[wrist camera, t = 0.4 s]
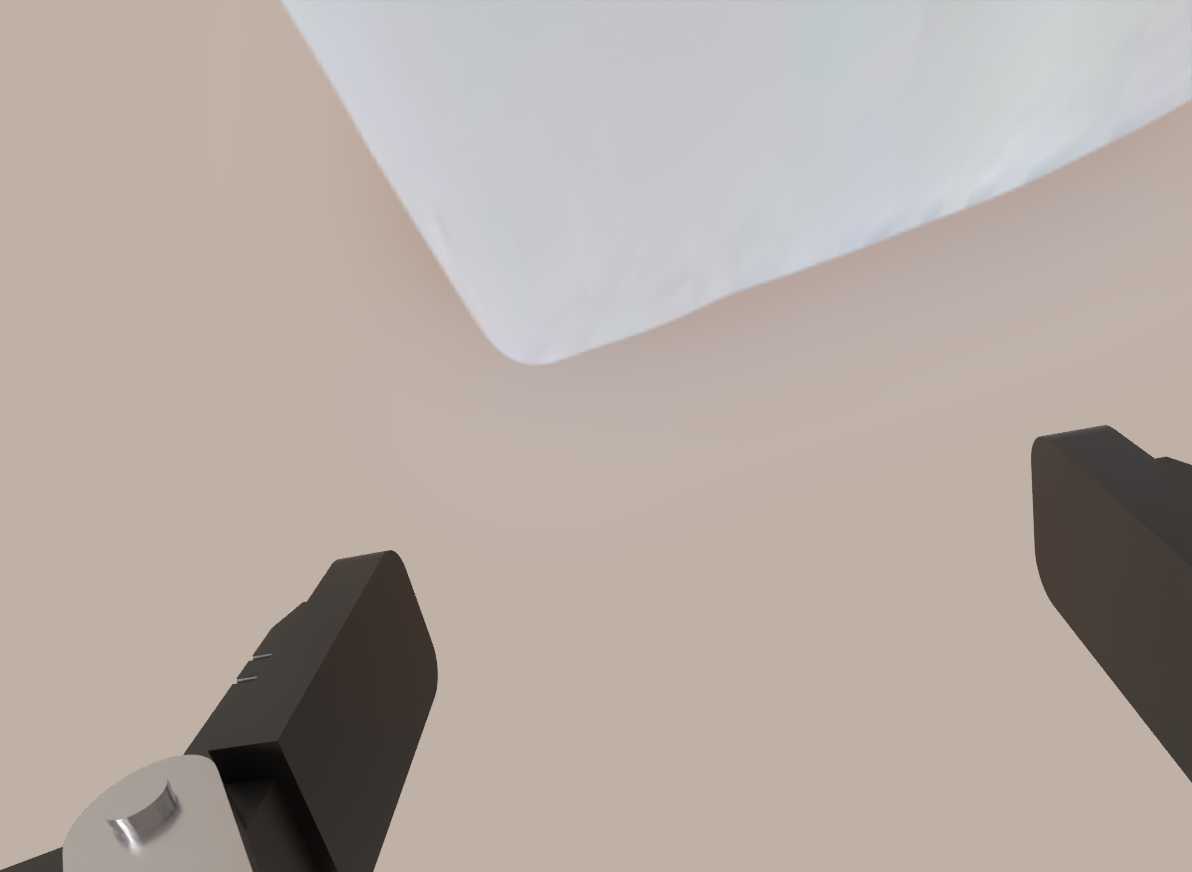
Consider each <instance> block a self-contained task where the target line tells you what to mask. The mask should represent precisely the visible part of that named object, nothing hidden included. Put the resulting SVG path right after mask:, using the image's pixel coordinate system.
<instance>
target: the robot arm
mask: <svg viewBox="0 0 1192 872" xmlns="http://www.w3.org/2000/svg"><path fill="white" fill-rule="evenodd" d="M1031 468H1032V493H1033V515H1034V540H1035V556H1036V563H1037V567H1038V571H1039V575H1040V578H1041V581H1042V584H1043V586H1044V589H1045V591H1046V593H1047V596H1048V597H1049V599H1050V601H1051V602H1052V604H1053V605H1054V607H1055V608H1056V609H1057V611H1058V612H1059V613H1060V614H1061V616H1062V617H1063V618H1064V619H1065V620H1066V622H1067V623H1068V624H1069V626H1070V627H1071V628H1072V630H1073V631H1074V632H1075V633H1076V635H1077V636H1078V637H1079V639H1080V640H1081V641H1082V642H1083V644H1084V645H1085V646H1086V648H1087V649H1088V650H1089V651H1090V653H1091V654H1092V655H1093V657H1094V658H1095V659H1096V660H1097V662H1098V663H1099V664H1100V666H1101V667H1102V668H1103V669H1104V671H1105V672H1106V673H1107V675H1108V676H1109V677H1110V678H1111V680H1112V681H1113V682H1114V684H1115V685H1116V686H1117V687H1118V689H1119V690H1120V691H1121V692H1122V694H1123V695H1124V696H1125V698H1126V699H1127V700H1128V701H1129V703H1130V704H1131V705H1132V707H1133V708H1134V709H1135V710H1136V712H1137V713H1138V714H1139V716H1140V717H1141V718H1142V719H1143V721H1144V722H1145V723H1146V724H1147V726H1148V727H1149V728H1150V730H1151V731H1152V732H1153V733H1154V735H1155V736H1156V737H1157V739H1158V740H1159V741H1160V742H1161V744H1162V745H1163V746H1164V748H1165V749H1166V750H1167V751H1168V753H1169V754H1170V755H1171V757H1172V758H1173V759H1174V760H1175V762H1176V763H1177V764H1178V766H1179V767H1180V768H1181V769H1182V771H1183V772H1184V773H1185V774H1186V776H1187V777H1188V778H1189V780H1190V781H1191V782H1192V465H1190V464H1187V463H1184V462H1181V461H1178V460H1175V459H1172V458H1169V457H1162V458H1156V459H1154V458H1153V457H1152V456H1150V455H1149V454H1148V453H1146V452H1145V451H1143V450H1142V449H1141V448H1139V447H1138V446H1137V445H1135V444H1134V443H1133V442H1131V441H1130V440H1128V439H1127V438H1126V437H1124V436H1123V435H1122V434H1120V433H1119V432H1118V431H1116V430H1115V429H1113V428H1111V427H1110V426H1107V425H1105V426H1097V427H1092V428H1086V429H1080V430H1075V431H1069V432H1063V433H1058V434H1052V435H1046V436H1041V437H1038V438H1036V440H1035V441H1034V444H1033V446H1032V452H1031ZM437 680H438V671H437V660H436V654H435V651H434V647H433V644H432V641H431V638H430V635H429V632H428V630H427V627H426V624H425V622H424V618H423V616H422V613H421V610H420V607H419V605H418V602H417V599H416V596H415V593H414V591H413V588H412V585H411V582H410V579H409V577H408V574H407V571H406V568H405V566H404V563H403V562H402V560H401V558H400V557H399V555H398V554H397V553H396V552H394V551H391V550H390V551H383V552H378V553H372V554H367V555H360V556H355V557H350V558H344V559H338V560H336V561H335V562H334V563H333V564H332V565H331V567H330V568H329V569H328V571H327V573H326V574H325V576H324V577H323V578H322V580H321V581H320V583H319V585H318V586H317V588H316V589H315V590H314V592H313V594H312V595H311V596H310V598H309V599H308V601H307V602H303V603H301V604H300V605H299V606H298V607H297V608H296V609H294V610H293V611H292V612H291V613H289V614H288V615H287V616H286V617H285V618H284V619H282V620H281V621H280V622H279V623H277V624H276V625H275V626H274V627H273V628H272V629H271V630H270V632H269V633H268V634H267V636H266V637H265V639H264V640H263V641H262V643H261V644H260V646H259V647H258V649H257V650H256V651H255V653H254V654H253V660H252V661H249V662H248V663H247V664H246V666H245V667H244V669H243V670H242V672H241V673H240V674H239V676H238V677H237V684H232V686H231V688H230V689H229V690H228V692H227V693H226V694H225V696H224V697H223V699H222V700H221V702H220V703H219V704H218V706H217V707H216V709H215V710H214V712H213V713H212V714H211V716H210V717H209V719H208V720H207V722H206V723H205V724H204V726H203V728H202V729H201V730H200V732H199V733H198V735H197V736H196V737H195V739H194V740H193V742H192V743H191V745H190V746H189V747H188V749H187V750H186V752H185V753H184V755H181V756H175V757H171V758H167V759H164V760H161V761H158V762H156V763H153V764H150V765H148V766H146V767H143V768H141V769H139V770H137V771H135V772H134V773H132V774H130V775H128V776H127V777H125V778H123V779H122V780H120V781H119V782H117V783H116V784H114V785H113V786H111V787H110V788H109V789H107V790H106V791H105V792H104V793H102V794H101V795H100V796H99V797H98V798H96V799H95V800H94V801H93V802H92V803H91V804H90V805H89V806H88V807H87V808H86V809H85V810H84V812H82V814H81V815H80V816H79V817H78V818H77V820H76V822H75V823H74V824H73V825H72V827H71V829H70V830H69V832H68V834H67V836H66V839H65V842H64V845H63V847H61V848H58V849H56V850H53V851H51V852H48V853H45V854H42V855H40V856H37V857H34V858H32V859H29V860H26V861H24V862H21V863H18V864H16V865H13V866H11V867H8V868H5V869H3V870H0V872H373V870H374V868H375V865H376V862H377V859H378V856H379V854H380V851H381V848H382V845H383V842H384V839H385V837H386V834H387V831H388V828H389V825H390V822H391V820H392V817H393V814H394V811H395V808H396V805H397V803H398V800H399V797H400V794H401V791H402V788H403V785H404V783H405V780H406V777H407V774H408V771H409V768H410V765H411V763H412V760H413V757H414V754H415V751H416V749H417V746H418V743H419V740H420V737H421V734H422V732H423V729H424V726H425V723H426V720H427V717H428V715H429V712H430V709H431V706H432V703H433V700H434V698H435V694H436V690H437Z"/></svg>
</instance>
